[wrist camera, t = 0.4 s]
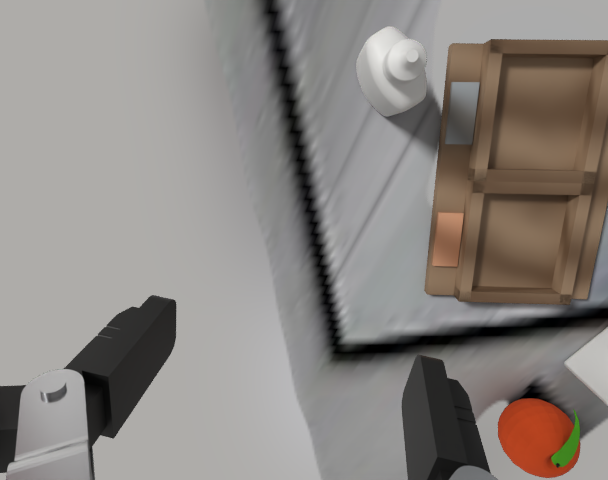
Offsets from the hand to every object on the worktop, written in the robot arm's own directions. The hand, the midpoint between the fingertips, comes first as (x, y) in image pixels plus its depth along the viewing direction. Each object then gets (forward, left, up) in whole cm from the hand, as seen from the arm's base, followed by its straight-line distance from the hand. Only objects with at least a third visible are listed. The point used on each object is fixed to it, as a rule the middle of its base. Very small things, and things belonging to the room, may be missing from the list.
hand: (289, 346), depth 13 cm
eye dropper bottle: (-11, +6, -25) cm, 28 cm away
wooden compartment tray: (-3, +19, -25) cm, 32 cm away
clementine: (+21, +23, -25) cm, 40 cm away
